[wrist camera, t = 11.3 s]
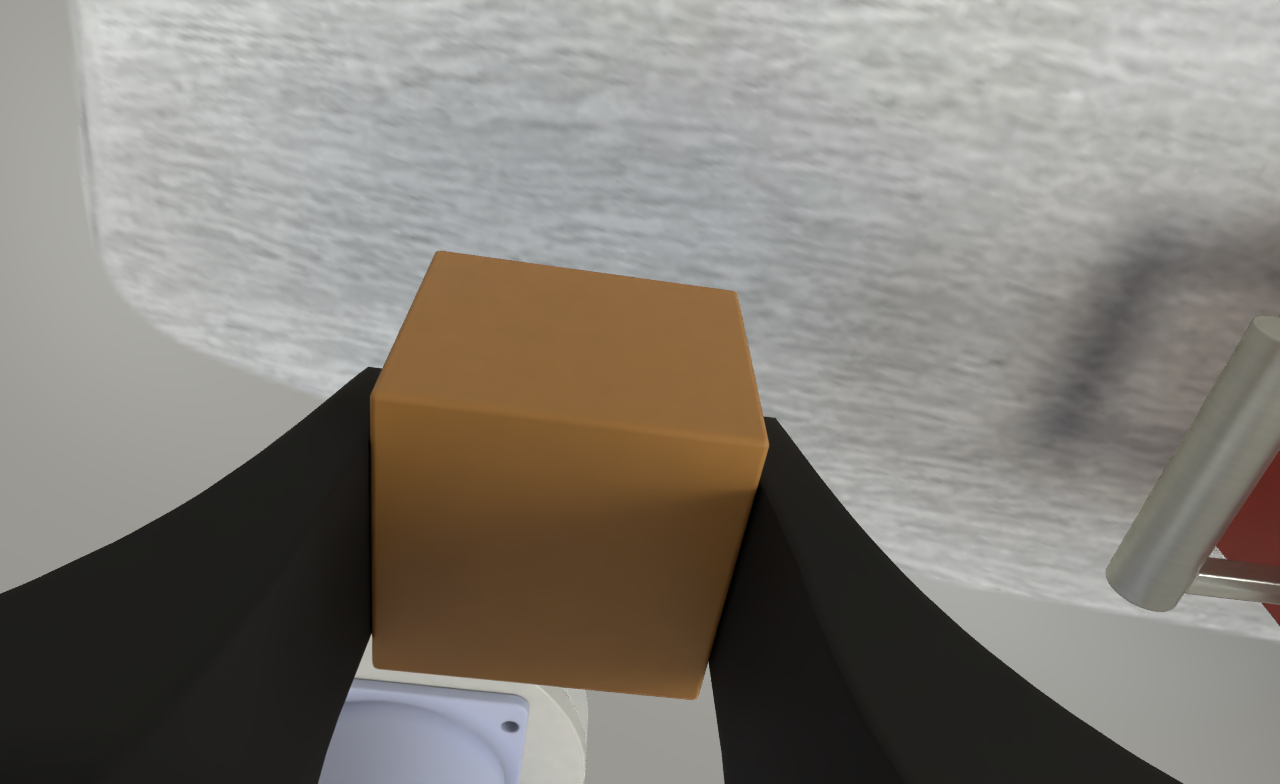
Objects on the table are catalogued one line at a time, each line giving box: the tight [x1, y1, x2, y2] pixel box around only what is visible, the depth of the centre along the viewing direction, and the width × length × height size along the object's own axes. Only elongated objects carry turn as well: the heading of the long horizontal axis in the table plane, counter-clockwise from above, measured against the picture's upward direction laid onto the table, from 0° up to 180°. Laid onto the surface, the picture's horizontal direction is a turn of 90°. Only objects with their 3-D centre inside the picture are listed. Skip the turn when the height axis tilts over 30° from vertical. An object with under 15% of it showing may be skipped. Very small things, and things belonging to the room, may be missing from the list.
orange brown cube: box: [370, 251, 769, 700], centre depth 11 cm, size 4×4×4 cm
